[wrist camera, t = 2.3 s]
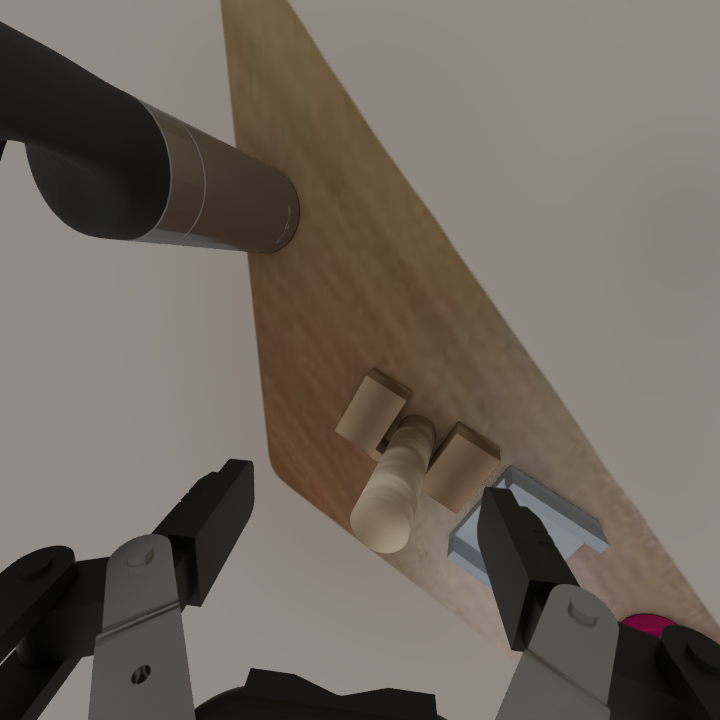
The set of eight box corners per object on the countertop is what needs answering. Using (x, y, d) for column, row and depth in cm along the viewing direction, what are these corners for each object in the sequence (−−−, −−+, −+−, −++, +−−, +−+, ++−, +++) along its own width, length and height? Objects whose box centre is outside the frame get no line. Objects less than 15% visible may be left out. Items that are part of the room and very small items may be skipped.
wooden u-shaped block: (343, 421, 42) (333, 432, 40) (374, 368, 40) (366, 375, 37) (457, 498, 40) (455, 515, 37) (499, 447, 37) (500, 461, 34)
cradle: (449, 535, 41) (447, 557, 38) (510, 464, 37) (513, 483, 34) (525, 588, 40) (529, 615, 37) (598, 521, 35) (609, 545, 32)
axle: (391, 436, 41) (340, 527, 26) (409, 407, 39) (367, 488, 25) (423, 457, 40) (390, 563, 25) (443, 429, 39) (420, 525, 24)
